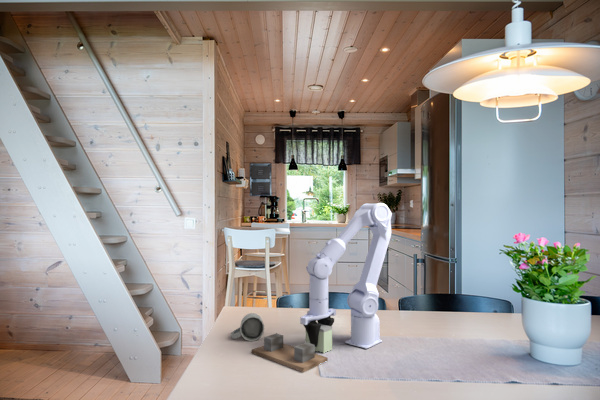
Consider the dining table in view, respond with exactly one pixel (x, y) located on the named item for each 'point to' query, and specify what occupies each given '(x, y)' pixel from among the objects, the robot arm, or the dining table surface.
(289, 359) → the post base
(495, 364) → the dining table surface
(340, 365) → the dining table surface
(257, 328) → the ceramic mug
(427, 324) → the dining table surface
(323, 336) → the bracket block
